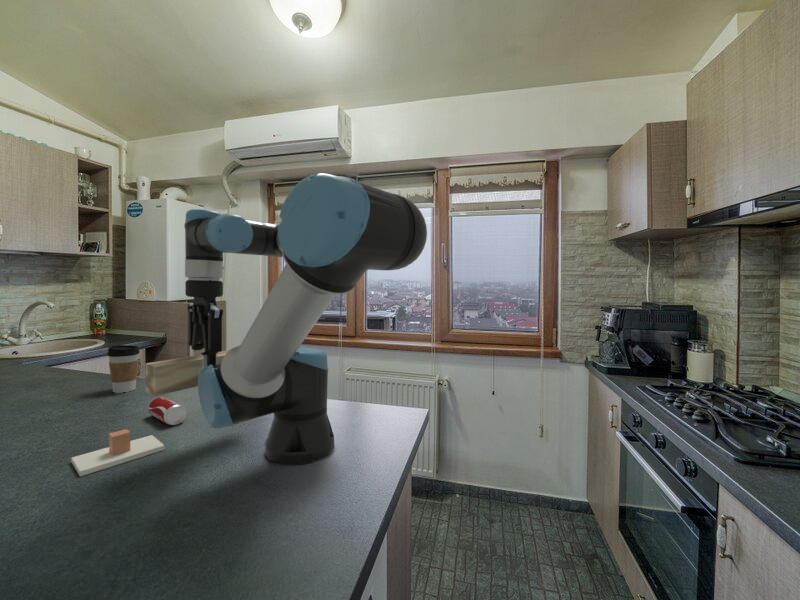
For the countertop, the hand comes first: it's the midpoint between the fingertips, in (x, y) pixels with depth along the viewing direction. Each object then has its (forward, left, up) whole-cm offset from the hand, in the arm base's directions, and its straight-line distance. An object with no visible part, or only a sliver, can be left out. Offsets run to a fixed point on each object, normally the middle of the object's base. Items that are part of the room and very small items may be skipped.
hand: (204, 379), depth 81 cm
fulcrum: (+6, +14, -15) cm, 22 cm away
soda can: (+15, +1, -12) cm, 19 cm away
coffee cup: (+58, +1, -15) cm, 60 cm away
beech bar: (0, 0, -1) cm, 1 cm away
